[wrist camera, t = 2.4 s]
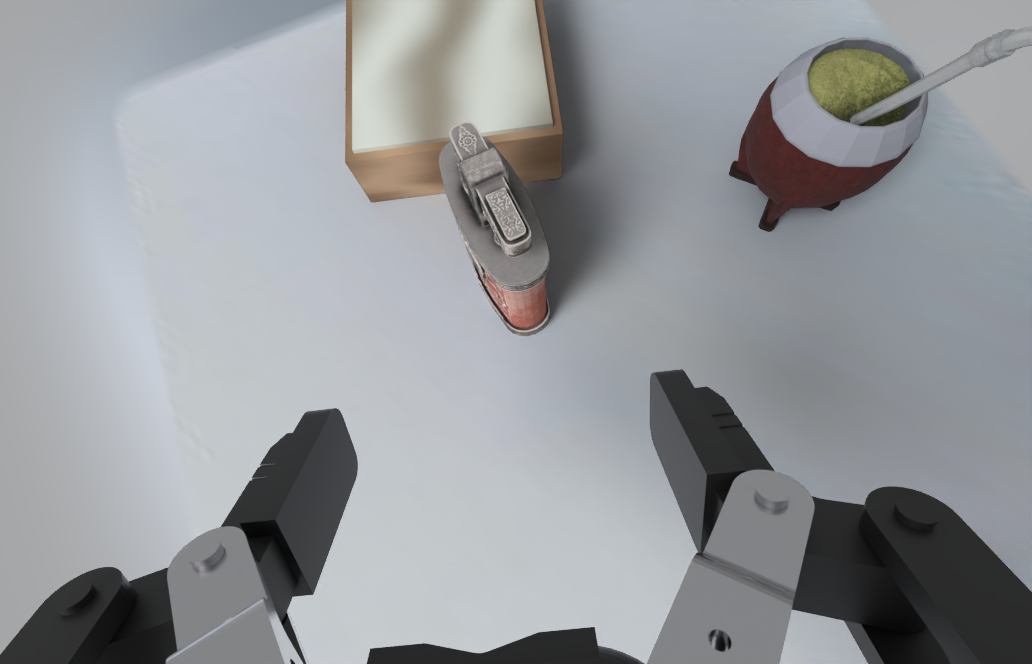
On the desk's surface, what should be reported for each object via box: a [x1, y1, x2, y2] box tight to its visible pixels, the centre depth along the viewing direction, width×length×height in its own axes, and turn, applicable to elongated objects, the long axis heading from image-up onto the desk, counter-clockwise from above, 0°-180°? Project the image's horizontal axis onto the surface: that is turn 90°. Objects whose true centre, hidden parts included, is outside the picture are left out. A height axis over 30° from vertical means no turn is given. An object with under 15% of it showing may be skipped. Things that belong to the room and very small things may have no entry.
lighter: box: [439, 121, 550, 336], centre depth 24 cm, size 8×3×10 cm, turn 25°
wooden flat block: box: [345, 0, 563, 202], centre depth 30 cm, size 12×13×4 cm
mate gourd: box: [729, 27, 1032, 232], centre depth 21 cm, size 8×8×15 cm
